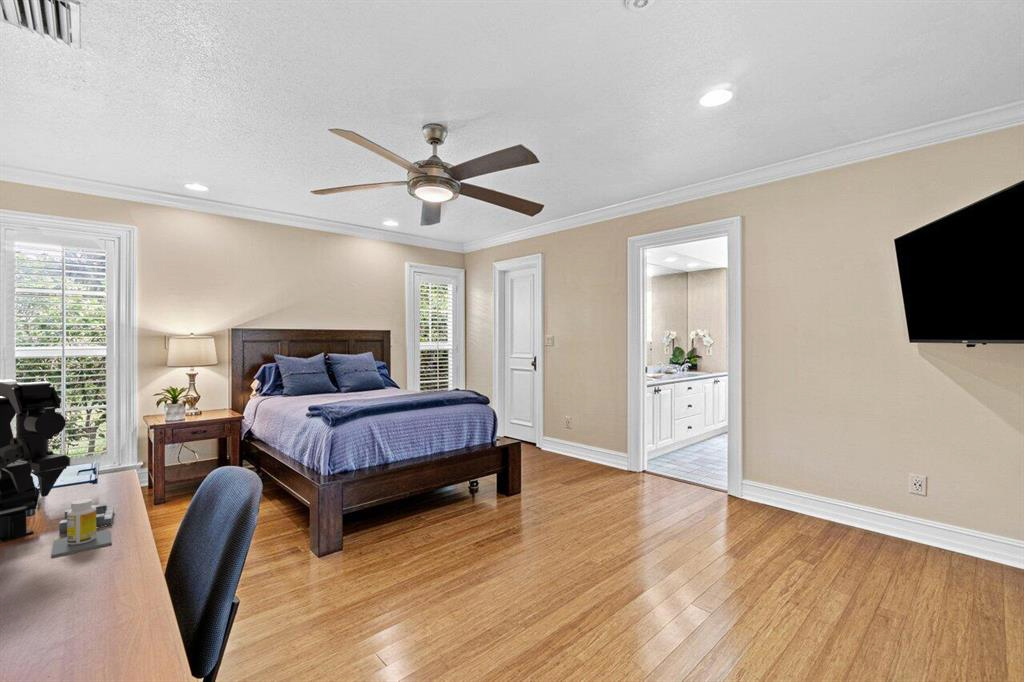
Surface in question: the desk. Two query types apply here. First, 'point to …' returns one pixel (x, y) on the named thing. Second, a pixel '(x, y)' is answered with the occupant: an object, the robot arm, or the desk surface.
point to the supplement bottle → (81, 522)
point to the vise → (100, 519)
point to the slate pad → (64, 548)
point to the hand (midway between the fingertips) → (32, 494)
